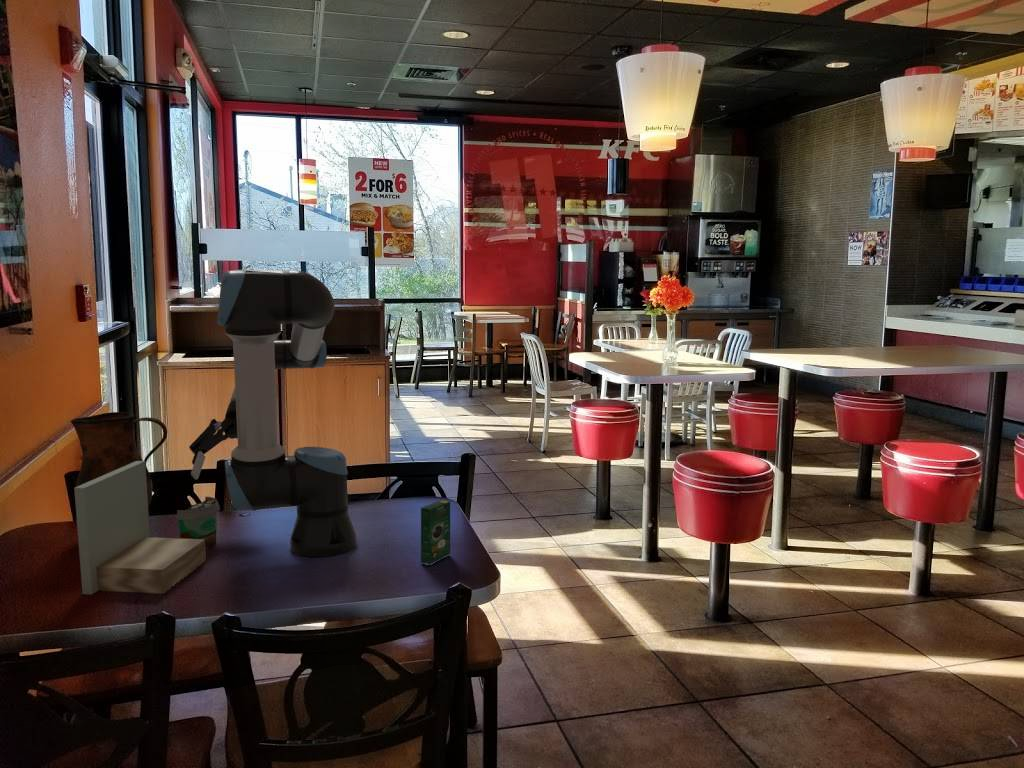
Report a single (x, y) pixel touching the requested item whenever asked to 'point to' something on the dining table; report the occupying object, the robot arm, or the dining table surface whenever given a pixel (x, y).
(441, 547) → the coffee box
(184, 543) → the block
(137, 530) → the wall board
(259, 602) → the dining table surface
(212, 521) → the food container
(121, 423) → the pitcher
